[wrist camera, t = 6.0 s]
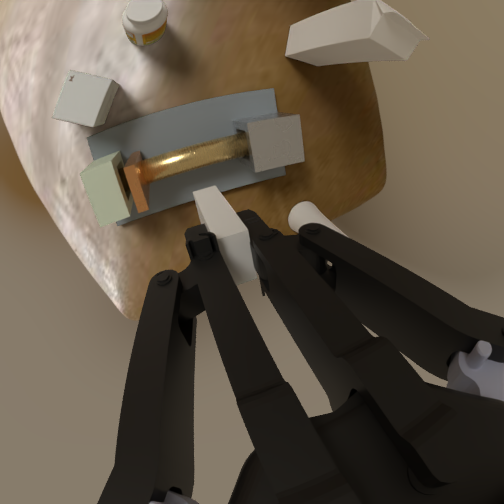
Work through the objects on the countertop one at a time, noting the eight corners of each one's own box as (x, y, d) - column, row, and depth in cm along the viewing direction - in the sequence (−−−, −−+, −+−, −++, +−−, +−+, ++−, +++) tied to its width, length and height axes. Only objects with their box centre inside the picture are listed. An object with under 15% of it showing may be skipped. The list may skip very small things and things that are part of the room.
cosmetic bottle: (314, 196, 47) (403, 258, 29) (319, 224, 51) (398, 292, 33) (284, 208, 46) (366, 280, 29) (291, 236, 50) (365, 314, 32)
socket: (93, 160, 31) (79, 173, 25) (119, 150, 32) (111, 160, 25) (109, 205, 35) (100, 227, 28) (134, 195, 36) (130, 216, 29)
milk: (289, 25, 30) (394, -12, 12) (322, 37, 32) (431, 18, 14) (284, 57, 33) (391, 34, 15) (317, 67, 35) (430, 62, 17)
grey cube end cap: (231, 120, 35) (247, 123, 29) (277, 112, 36) (299, 114, 31) (239, 162, 38) (255, 172, 33) (282, 152, 40) (304, 161, 34)
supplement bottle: (170, 16, 25) (176, -9, 17) (159, 48, 27) (160, 29, 19) (134, 12, 23) (129, -14, 15) (121, 44, 25) (112, 25, 17)
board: (88, 136, 30) (87, 137, 29) (270, 88, 35) (273, 88, 34) (118, 222, 38) (117, 226, 37) (282, 173, 43) (285, 174, 42)
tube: (111, 160, 32) (97, 178, 24) (250, 121, 35) (279, 126, 27) (122, 194, 35) (113, 222, 26) (255, 154, 38) (285, 170, 30)
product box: (68, 115, 27) (50, 118, 21) (83, 75, 25) (68, 68, 19) (105, 125, 30) (93, 128, 24) (121, 84, 28) (113, 78, 22)
